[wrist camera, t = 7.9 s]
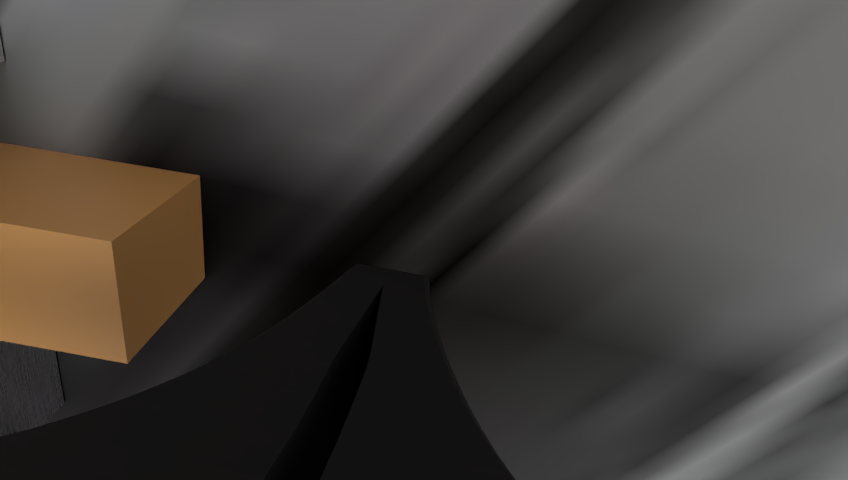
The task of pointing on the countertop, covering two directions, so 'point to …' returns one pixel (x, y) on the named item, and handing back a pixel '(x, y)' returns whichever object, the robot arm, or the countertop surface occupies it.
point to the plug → (94, 251)
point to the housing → (27, 382)
